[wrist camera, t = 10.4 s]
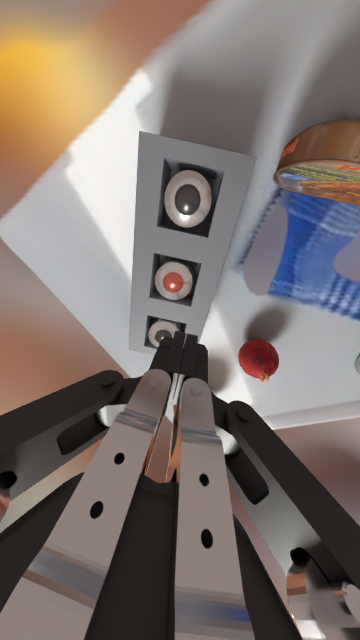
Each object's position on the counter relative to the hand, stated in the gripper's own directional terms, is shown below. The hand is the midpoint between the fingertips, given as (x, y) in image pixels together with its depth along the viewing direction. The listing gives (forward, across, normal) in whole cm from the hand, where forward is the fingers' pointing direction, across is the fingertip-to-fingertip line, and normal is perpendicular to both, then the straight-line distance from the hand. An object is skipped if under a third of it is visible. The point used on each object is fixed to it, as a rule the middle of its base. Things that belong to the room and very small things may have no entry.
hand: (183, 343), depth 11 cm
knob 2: (+14, +3, -9) cm, 17 cm away
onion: (+17, -12, +10) cm, 23 cm away
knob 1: (+15, +3, +7) cm, 17 cm away
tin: (+17, -12, -14) cm, 25 cm away
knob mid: (+14, +3, -1) cm, 15 cm away
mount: (+17, +3, -1) cm, 17 cm away
